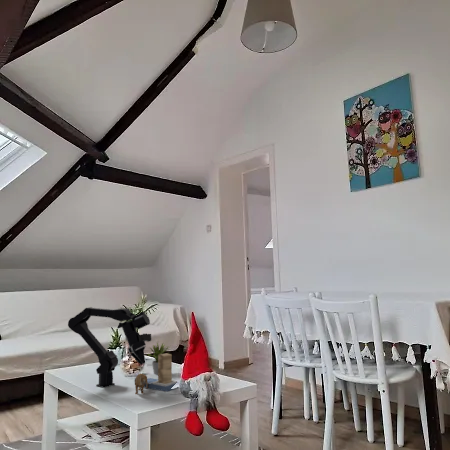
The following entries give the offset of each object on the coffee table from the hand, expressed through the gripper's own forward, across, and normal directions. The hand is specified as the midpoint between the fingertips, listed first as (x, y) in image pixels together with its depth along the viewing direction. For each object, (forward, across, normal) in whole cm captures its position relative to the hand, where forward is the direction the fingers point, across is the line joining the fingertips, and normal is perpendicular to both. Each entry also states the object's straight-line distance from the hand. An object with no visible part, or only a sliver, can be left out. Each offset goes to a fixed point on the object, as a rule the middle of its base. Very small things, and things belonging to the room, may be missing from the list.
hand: (143, 363), depth 192 cm
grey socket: (+12, -4, -5) cm, 14 cm away
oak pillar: (+12, -4, -5) cm, 14 cm away
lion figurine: (+11, -6, +6) cm, 14 cm away
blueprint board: (+12, 0, -2) cm, 13 cm away
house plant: (+9, +26, -10) cm, 29 cm away
